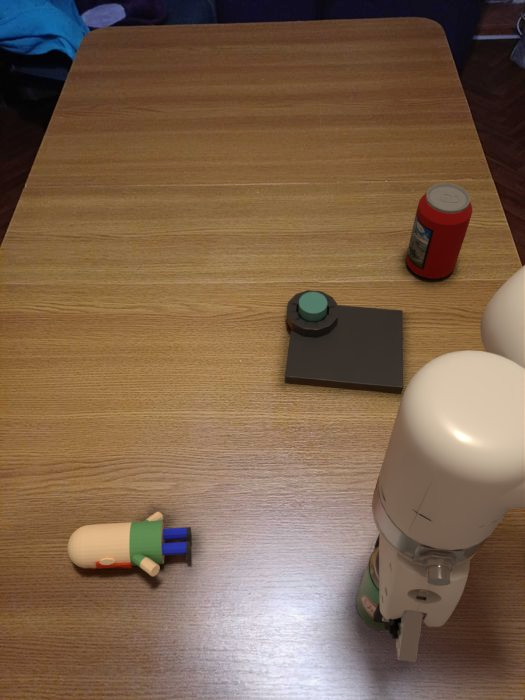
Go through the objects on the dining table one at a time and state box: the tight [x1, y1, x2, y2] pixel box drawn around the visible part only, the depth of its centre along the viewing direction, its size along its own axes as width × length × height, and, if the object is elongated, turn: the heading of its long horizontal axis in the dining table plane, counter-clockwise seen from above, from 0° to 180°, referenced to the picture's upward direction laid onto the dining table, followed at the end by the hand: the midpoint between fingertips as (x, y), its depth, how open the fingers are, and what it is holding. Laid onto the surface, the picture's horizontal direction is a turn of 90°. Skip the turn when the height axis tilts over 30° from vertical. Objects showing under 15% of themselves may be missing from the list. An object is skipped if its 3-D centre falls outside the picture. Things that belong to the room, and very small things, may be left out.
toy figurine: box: [66, 511, 193, 577], centre depth 61 cm, size 8×4×12 cm
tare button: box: [298, 292, 328, 322], centre depth 77 cm, size 4×4×2 cm
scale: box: [284, 289, 404, 395], centre depth 77 cm, size 15×13×3 cm
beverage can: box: [405, 182, 473, 279], centre depth 81 cm, size 7×7×12 cm
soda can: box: [355, 546, 390, 633], centre depth 54 cm, size 5×5×12 cm
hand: (392, 584), depth 54 cm, fingers closed on soda can, 5 cm apart
